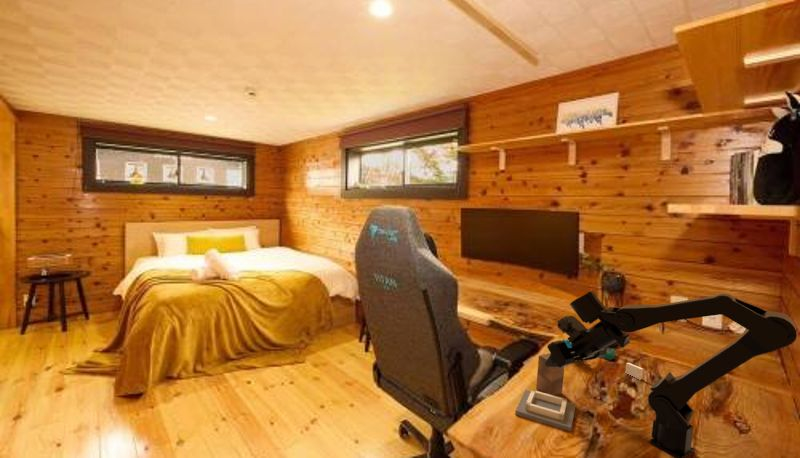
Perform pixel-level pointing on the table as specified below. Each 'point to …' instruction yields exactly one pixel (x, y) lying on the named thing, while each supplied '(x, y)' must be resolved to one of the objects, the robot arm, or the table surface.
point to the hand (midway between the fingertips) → (556, 362)
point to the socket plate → (546, 409)
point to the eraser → (634, 371)
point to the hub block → (549, 377)
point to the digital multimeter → (609, 354)
